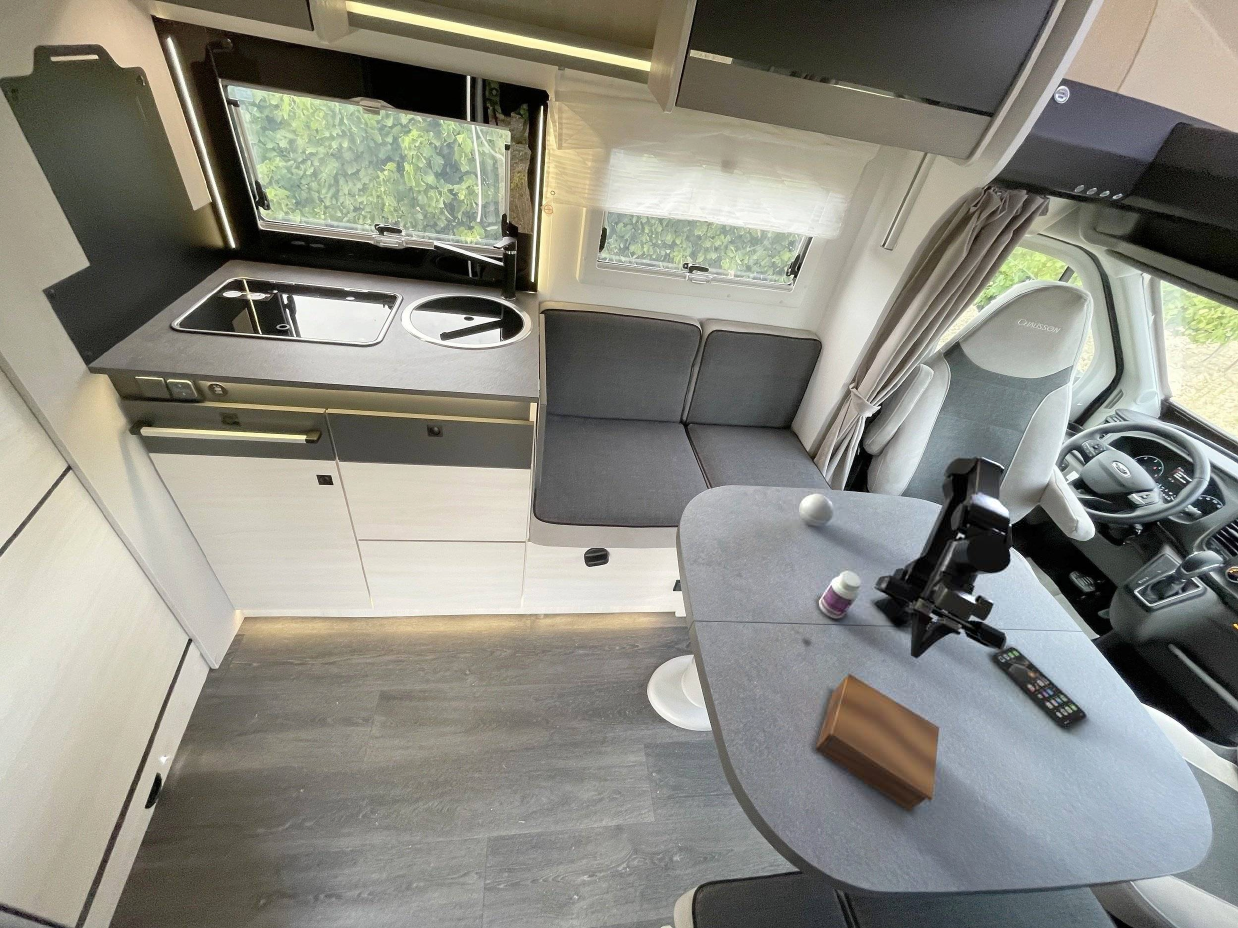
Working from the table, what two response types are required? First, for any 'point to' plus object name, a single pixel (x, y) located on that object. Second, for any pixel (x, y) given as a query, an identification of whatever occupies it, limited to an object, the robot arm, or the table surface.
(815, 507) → the bath bomb
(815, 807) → the table surface
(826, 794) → the table surface
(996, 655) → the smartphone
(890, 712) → the lid
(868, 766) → the chest
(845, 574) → the pill bottle
